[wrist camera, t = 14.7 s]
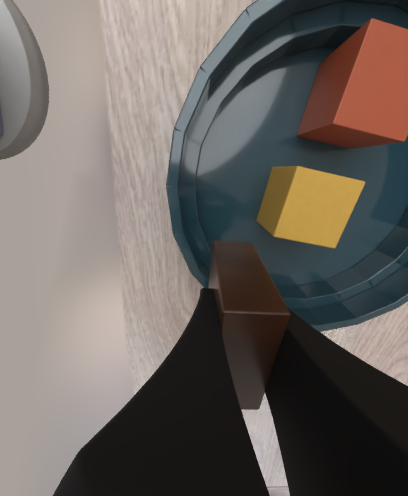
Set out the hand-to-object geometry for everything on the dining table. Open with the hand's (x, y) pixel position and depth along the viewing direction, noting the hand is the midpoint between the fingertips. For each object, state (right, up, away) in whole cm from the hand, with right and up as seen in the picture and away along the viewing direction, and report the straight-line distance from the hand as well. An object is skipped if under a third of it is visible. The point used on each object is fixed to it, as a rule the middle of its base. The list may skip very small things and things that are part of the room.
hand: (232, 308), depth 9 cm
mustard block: (+5, +6, +6) cm, 10 cm away
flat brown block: (0, +1, +2) cm, 2 cm away
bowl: (+6, +7, +6) cm, 11 cm away
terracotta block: (+7, +12, +4) cm, 14 cm away
